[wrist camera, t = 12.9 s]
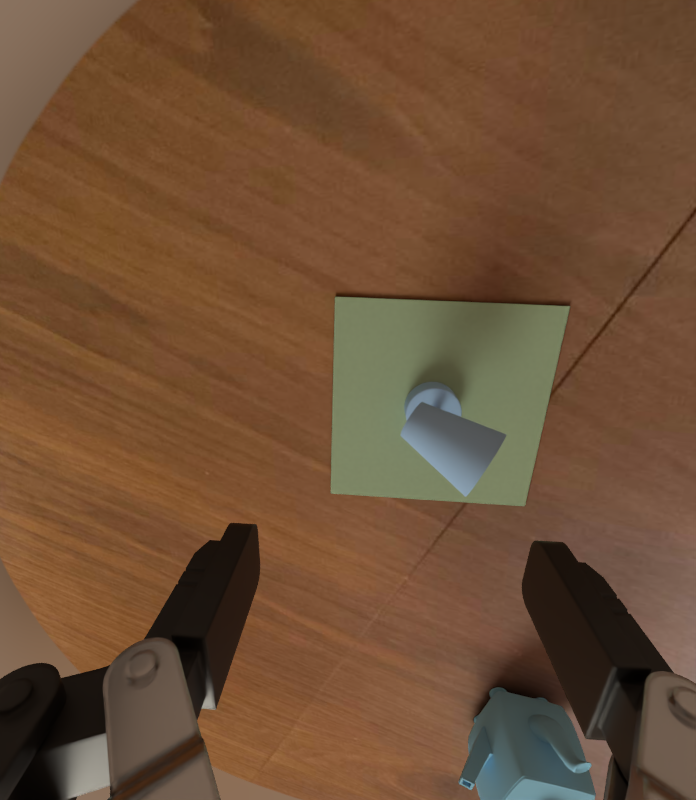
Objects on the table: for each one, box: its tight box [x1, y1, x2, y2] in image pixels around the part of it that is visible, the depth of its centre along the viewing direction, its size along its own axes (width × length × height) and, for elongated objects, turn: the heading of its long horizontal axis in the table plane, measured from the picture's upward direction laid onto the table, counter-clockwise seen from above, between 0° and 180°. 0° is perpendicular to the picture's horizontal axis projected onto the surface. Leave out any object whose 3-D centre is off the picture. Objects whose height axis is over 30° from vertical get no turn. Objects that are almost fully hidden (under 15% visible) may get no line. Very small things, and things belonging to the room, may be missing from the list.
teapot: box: [459, 687, 596, 800], centre depth 40 cm, size 18×14×10 cm
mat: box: [331, 297, 570, 506], centre depth 32 cm, size 18×18×1 cm
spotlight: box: [400, 382, 506, 497], centre depth 28 cm, size 5×10×7 cm
